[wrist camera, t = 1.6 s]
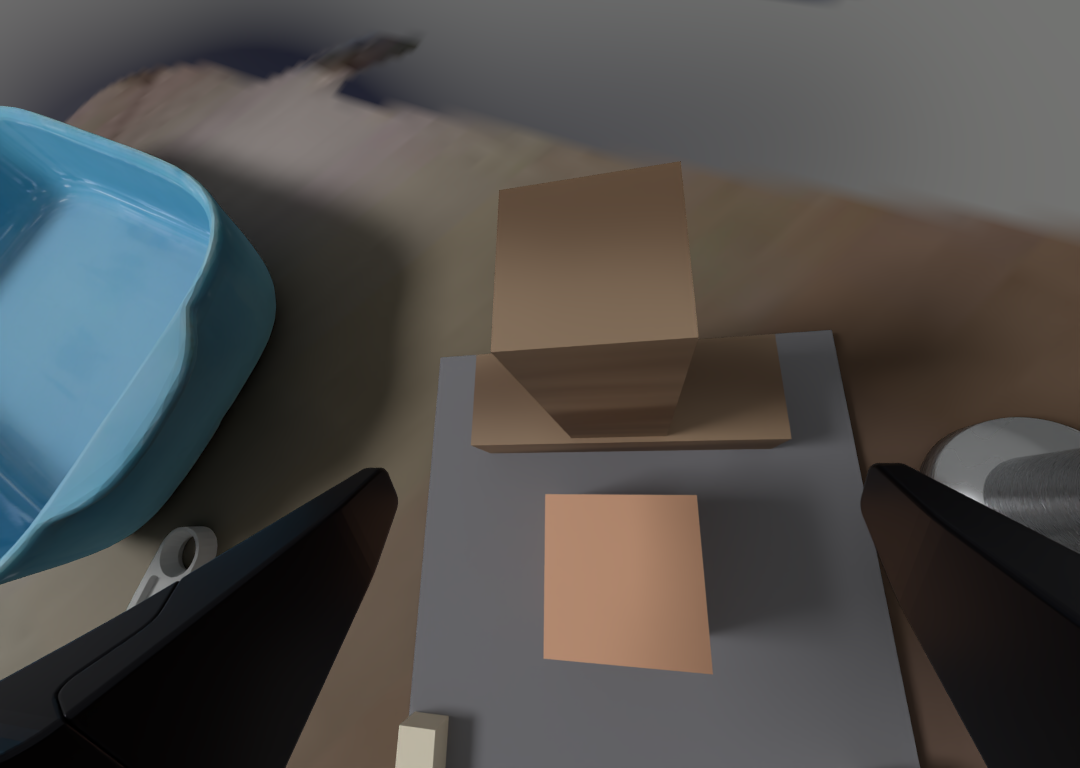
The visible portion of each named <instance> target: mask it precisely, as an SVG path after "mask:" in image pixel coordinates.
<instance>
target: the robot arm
mask: <svg viewBox="0 0 1080 768" xmlns="http://www.w3.org/2000/svg"><path fill="white" fill-rule="evenodd" d="M397 506H398V497H397V494H396V491H395V489H394V487H393V484H392V482H391V479H390V477H389V474H388V472H387V471H386V470H385V469H384V468H365V469H363V470H361V471H359V472H358V473H356V474H354V475H353V476H351V477H349V478H348V479H346V480H344V481H343V482H341V483H339V484H338V485H336V486H334V487H333V488H331V489H329V490H328V491H326V492H324V493H323V494H321V495H319V496H318V497H316V498H314V499H313V500H311V501H309V502H308V503H306V504H304V505H303V506H301V507H299V508H298V509H296V510H294V511H293V512H291V513H289V514H288V515H286V516H284V517H283V518H281V519H279V520H278V521H276V522H274V523H273V524H271V525H269V526H268V527H266V528H264V529H263V530H261V531H259V532H258V533H256V534H254V535H253V536H251V537H249V538H248V539H246V540H244V541H243V542H241V543H239V544H238V545H236V546H234V547H233V548H231V549H229V550H228V551H226V552H224V553H223V554H221V555H219V556H218V557H216V558H214V559H213V560H211V561H209V562H208V563H206V564H204V565H203V566H201V567H199V568H198V569H196V570H194V571H193V572H191V573H189V574H188V575H186V576H184V577H183V578H182V579H181V580H180V581H176V582H174V583H172V584H171V585H169V586H167V587H166V588H164V589H162V590H161V591H159V592H157V593H156V594H154V595H152V596H151V597H149V598H147V599H146V600H144V601H142V602H140V603H139V604H137V605H135V606H134V607H132V608H130V609H128V610H127V611H125V612H123V613H122V614H120V615H118V616H117V617H115V618H113V619H111V620H109V621H108V622H106V623H104V624H102V625H101V626H99V627H97V628H95V629H93V630H92V631H90V632H88V633H86V634H84V635H83V636H81V637H79V638H77V639H75V640H74V641H72V642H70V643H68V644H66V645H65V646H63V647H61V648H59V649H57V650H55V651H54V652H52V653H50V654H48V655H46V656H44V657H43V658H41V659H39V660H37V661H35V662H33V663H32V664H30V665H28V666H26V667H24V668H23V669H21V670H19V671H17V672H15V673H13V674H12V675H10V676H8V677H6V678H4V679H2V680H1V681H0V768H285V767H286V765H287V763H288V761H289V759H290V756H291V754H292V752H293V750H294V748H295V746H296V743H297V741H298V739H299V737H300V735H301V733H302V730H303V728H304V726H305V724H306V722H307V720H308V717H309V715H310V713H311V711H312V709H313V706H314V704H315V702H316V700H317V698H318V696H319V693H320V691H321V689H322V687H323V685H324V683H325V680H326V678H327V676H328V674H329V672H330V669H331V667H332V665H333V663H334V661H335V659H336V656H337V654H338V652H339V650H340V648H341V646H342V643H343V641H344V639H345V637H346V635H347V632H348V630H349V628H350V626H351V624H352V622H353V619H354V617H355V615H356V613H357V611H358V609H359V606H360V604H361V602H362V600H363V598H364V596H365V593H366V591H367V589H368V587H369V584H370V582H371V580H372V578H373V575H374V573H375V570H376V567H377V565H378V562H379V559H380V556H381V553H382V550H383V548H384V545H385V542H386V539H387V536H388V533H389V530H390V527H391V525H392V522H393V519H394V516H395V513H396V510H397ZM860 507H861V512H862V516H863V518H864V520H865V523H866V525H867V528H868V530H869V533H870V535H871V538H872V540H873V542H874V545H875V547H876V550H877V552H878V555H879V557H880V560H881V562H882V564H883V567H884V569H885V572H886V574H887V577H888V579H889V581H890V584H891V586H892V589H893V591H894V593H895V595H896V598H897V600H898V602H899V604H900V606H901V608H902V610H903V612H904V614H905V616H906V618H907V620H908V622H909V624H910V625H911V627H912V629H913V631H914V633H915V635H916V636H917V638H918V640H919V642H920V644H921V646H922V647H923V649H924V651H925V653H926V655H927V657H928V659H929V660H930V662H931V664H932V666H933V668H934V670H935V671H936V673H937V675H938V677H939V679H940V681H941V682H942V684H943V686H944V688H945V690H946V692H947V694H948V695H949V697H950V699H951V701H952V703H953V705H954V706H955V708H956V710H957V712H958V714H959V716H960V717H961V719H962V721H963V723H964V725H965V727H966V729H967V730H968V732H969V734H970V736H971V738H972V740H973V741H974V743H975V745H976V747H977V749H978V751H979V752H980V754H981V756H982V758H983V760H984V762H985V764H986V765H987V767H988V768H1080V554H1079V553H1077V552H1075V551H1073V550H1071V549H1069V548H1067V547H1065V546H1063V545H1061V544H1059V543H1057V542H1055V541H1053V540H1051V539H1050V538H1048V537H1046V536H1044V535H1042V534H1040V533H1038V532H1036V531H1034V530H1032V529H1030V528H1028V527H1026V526H1024V525H1022V524H1020V523H1018V522H1016V521H1014V520H1012V519H1011V518H1009V517H1007V516H1005V515H1003V514H1001V513H999V512H997V511H995V510H993V509H991V508H989V507H987V506H985V505H983V504H981V503H979V502H977V501H975V500H973V499H972V498H970V497H968V496H966V495H964V494H962V493H960V492H958V491H956V490H954V489H952V488H950V487H948V486H946V485H944V484H942V483H940V482H938V481H936V480H935V479H933V478H931V477H929V476H927V475H925V474H923V473H921V472H919V471H917V470H915V469H913V468H911V467H909V466H907V465H905V464H902V463H876V464H873V465H872V466H871V467H870V468H869V470H868V473H867V477H866V481H865V485H864V488H863V492H862V496H861V500H860Z"/></svg>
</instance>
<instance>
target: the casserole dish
mask: <svg viewBox="0 0 1080 768" xmlns="http://www.w3.org/2000/svg"><path fill="white" fill-rule="evenodd" d="M275 313H276V298H275V290H274V284H273V281H272V279H271V276H270V274H269V272H268V269H267V267H266V265H265V264H264V262H263V260H262V259H261V257H260V256H259V254H258V253H257V251H256V250H255V249H254V247H253V246H252V245H251V243H250V242H249V241H248V239H247V238H246V237H245V236H244V234H243V233H242V232H241V231H240V229H239V228H238V227H237V226H236V225H235V224H234V222H233V221H232V220H231V219H230V218H229V217H228V215H227V214H226V213H225V212H224V211H223V210H222V208H221V207H220V206H219V204H218V203H217V202H216V201H215V199H214V198H213V197H212V195H211V194H210V193H209V192H208V191H207V190H206V189H205V188H204V187H203V185H202V184H201V183H199V182H198V181H197V180H196V179H195V178H193V177H192V176H191V175H189V174H188V173H186V172H185V171H183V170H182V169H180V168H178V167H177V166H175V165H173V164H170V163H168V162H166V161H164V160H161V159H159V158H157V157H155V156H152V155H150V154H147V153H145V152H142V151H139V150H137V149H134V148H132V147H129V146H126V145H123V144H120V143H117V142H115V141H112V140H109V139H107V138H104V137H101V136H98V135H96V134H93V133H90V132H87V131H84V130H82V129H79V128H76V127H74V126H71V125H68V124H65V123H63V122H60V121H57V120H54V119H52V118H49V117H46V116H43V115H40V114H37V113H34V112H30V111H27V110H23V109H19V108H15V107H7V106H0V584H3V583H6V582H10V581H13V580H16V579H19V578H22V577H25V576H29V575H32V574H35V573H38V572H41V571H44V570H48V569H51V568H54V567H57V566H60V565H63V564H66V563H69V562H72V561H75V560H77V559H80V558H83V557H86V556H89V555H91V554H94V553H96V552H98V551H101V550H103V549H105V548H108V547H110V546H112V545H113V544H115V543H117V542H119V541H121V540H123V539H124V538H126V537H128V536H129V535H131V534H132V533H134V532H135V531H137V530H138V529H139V528H140V527H142V526H143V525H144V524H145V523H146V522H147V521H148V520H150V519H151V518H152V517H153V516H154V515H155V514H156V513H157V512H158V511H159V510H160V508H161V507H162V506H163V505H164V504H165V503H166V502H167V500H168V499H169V498H170V496H171V495H172V494H173V493H174V491H175V490H176V488H177V487H178V486H179V484H180V483H181V482H182V481H183V479H184V478H185V477H186V475H187V474H188V473H189V471H190V470H191V468H192V467H193V465H194V464H195V462H196V461H197V459H198V458H199V456H200V455H201V453H202V452H203V450H204V449H205V447H206V446H207V444H208V443H209V441H210V440H211V438H212V437H213V435H214V433H215V432H216V430H217V428H218V427H219V425H220V421H221V420H222V418H223V417H224V415H225V414H226V412H227V411H228V410H229V408H230V407H231V405H232V404H233V402H234V401H235V399H236V397H237V396H238V394H239V392H240V391H241V389H242V387H243V386H244V384H245V382H246V381H247V379H248V377H249V376H250V374H251V372H252V371H253V369H254V367H255V365H256V364H257V362H258V360H259V358H260V356H261V354H262V352H263V350H264V348H265V346H266V344H267V342H268V340H269V337H270V334H271V331H272V328H273V325H274V321H275Z"/></svg>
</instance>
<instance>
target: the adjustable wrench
mask: <svg viewBox="0 0 1080 768" xmlns="http://www.w3.org/2000/svg"><path fill="white" fill-rule="evenodd" d="M192 536H193V537H194V540H195V544H196V551H195V556H194V559H193V561H192V563H191V565H190V566H189V568H188V569H186V568H185V567H184V565H183V562H182V553H183V549H184V547H185V545H186V543H187V542H188V540H189V539H190V538H191V537H192ZM217 547H218V545H217V538H216V536H215V534H214V532H213V531H212V530H211V529H210V528H208V527H204V526H194V527H179V528H177V529H175V530H173V531H171V532H170V533H169V534H168V535H167V536H166V537H165V539H164V540H163V542H162V543H161V545H160V547H159V549H158V551H157V553H156V555H155V556H154V558H153V560H152V562H151V564H150V566H149V568H148V570H147V572H146V573H145V575H144V577H143V579H142V581H141V583H140V585H139V587H138V589H137V590H136V592H135V594H134V596H133V598H132V600H131V602H130V604H129V606H128V608H127V609H126V611H127V610H128V609H130V608H132V607H134V606H135V605H137V604H139V603H140V602H142V601H144V600H146V599H147V598H149V597H151V596H152V595H154V594H156V593H157V592H159V591H161V590H162V589H164V588H166V587H167V586H169V585H171V584H172V583H174V582H176V581H180V580H181V579H182V578H183V577H184V576H186V575H188V574H189V573H191V572H193V571H194V570H196V569H198V568H199V567H201V566H203V565H204V564H206V563H208V562H209V561H211V560H213V559H214V558H215V557H216V554H217Z"/></svg>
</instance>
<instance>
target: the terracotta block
mask: <svg viewBox="0 0 1080 768" xmlns="http://www.w3.org/2000/svg"><path fill="white" fill-rule="evenodd" d="M543 659H553V660H564V661H574V662H585V663H596V664H606V665H617V666H628V667H638V668H649V669H660V670H671V671H681V672H692V673H703V674H713V669H712V658H711V647H710V636H709V625H708V614H707V603H706V591H705V580H704V569H703V558H702V547H701V536H700V525H699V514H698V503H697V495H602V494H545V565H544V657H543Z"/></svg>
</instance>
